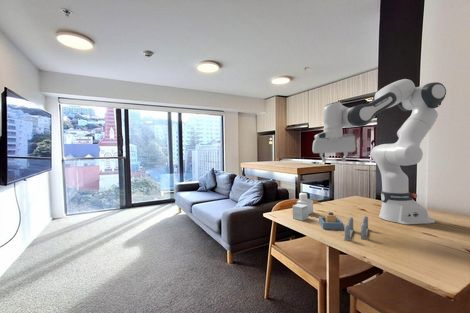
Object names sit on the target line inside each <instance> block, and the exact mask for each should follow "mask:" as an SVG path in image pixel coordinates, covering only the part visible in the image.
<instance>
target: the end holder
mask: <svg viewBox="0 0 470 313" xmlns="http://www.w3.org/2000/svg"><path fill="white" fill-rule="evenodd" d="M318 223H319V225H320V227H321V228H322V230H338V231H340V230H341V231H343V230H344V222H343V221H342V220H341V219H340V218H339V217H338V216H336V222H325V216H319V217H318Z"/></svg>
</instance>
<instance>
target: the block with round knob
mask: <svg viewBox="0 0 470 313" xmlns="http://www.w3.org/2000/svg"><path fill="white" fill-rule="evenodd" d="M324 217H325V222H336V217H337V215H336V214H335V213H334V212H332V211H327V212H325V213H324Z"/></svg>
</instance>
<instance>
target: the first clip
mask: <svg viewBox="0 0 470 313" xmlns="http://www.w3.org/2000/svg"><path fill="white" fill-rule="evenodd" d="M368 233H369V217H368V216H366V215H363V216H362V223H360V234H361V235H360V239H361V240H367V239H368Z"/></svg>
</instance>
